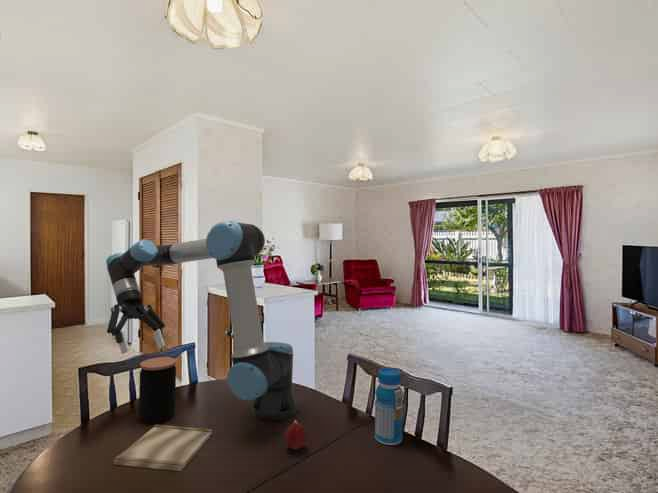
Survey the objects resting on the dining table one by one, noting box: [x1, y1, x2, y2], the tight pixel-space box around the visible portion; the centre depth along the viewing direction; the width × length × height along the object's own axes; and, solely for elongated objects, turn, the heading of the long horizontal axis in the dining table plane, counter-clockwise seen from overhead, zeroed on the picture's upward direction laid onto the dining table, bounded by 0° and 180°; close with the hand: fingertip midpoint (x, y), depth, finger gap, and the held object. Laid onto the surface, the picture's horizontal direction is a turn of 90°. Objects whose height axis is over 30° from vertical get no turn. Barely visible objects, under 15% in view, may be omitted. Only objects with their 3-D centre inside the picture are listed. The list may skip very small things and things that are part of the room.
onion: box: [284, 419, 307, 451], centre depth 100 cm, size 6×6×8 cm
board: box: [113, 424, 214, 472], centre depth 99 cm, size 18×18×2 cm
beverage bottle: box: [374, 367, 405, 446], centre depth 107 cm, size 8×8×20 cm
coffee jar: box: [138, 356, 177, 425], centre depth 117 cm, size 11×11×18 cm
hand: (144, 349), depth 119 cm, fingers open, 13 cm apart
